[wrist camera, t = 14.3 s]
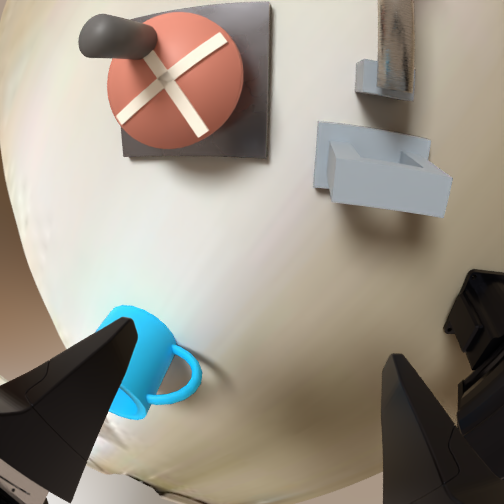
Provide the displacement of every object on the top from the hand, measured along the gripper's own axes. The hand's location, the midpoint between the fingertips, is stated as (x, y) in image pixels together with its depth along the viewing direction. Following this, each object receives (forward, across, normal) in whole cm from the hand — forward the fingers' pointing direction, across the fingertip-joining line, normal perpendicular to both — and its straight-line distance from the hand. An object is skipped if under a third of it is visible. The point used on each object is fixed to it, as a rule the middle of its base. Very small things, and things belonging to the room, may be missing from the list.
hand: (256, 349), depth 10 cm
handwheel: (+11, +7, -9) cm, 15 cm away
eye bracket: (+12, -5, -6) cm, 14 cm away
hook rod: (+10, -5, -15) cm, 19 cm away
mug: (+12, +12, +15) cm, 23 cm away
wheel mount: (+12, +6, -8) cm, 16 cm away
